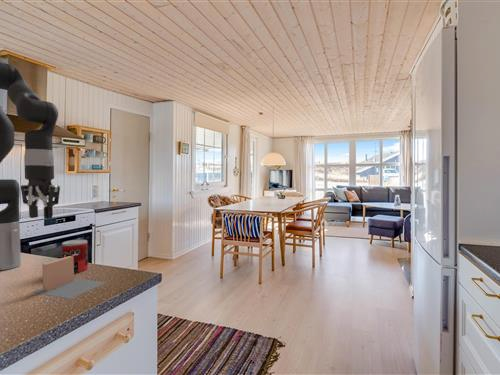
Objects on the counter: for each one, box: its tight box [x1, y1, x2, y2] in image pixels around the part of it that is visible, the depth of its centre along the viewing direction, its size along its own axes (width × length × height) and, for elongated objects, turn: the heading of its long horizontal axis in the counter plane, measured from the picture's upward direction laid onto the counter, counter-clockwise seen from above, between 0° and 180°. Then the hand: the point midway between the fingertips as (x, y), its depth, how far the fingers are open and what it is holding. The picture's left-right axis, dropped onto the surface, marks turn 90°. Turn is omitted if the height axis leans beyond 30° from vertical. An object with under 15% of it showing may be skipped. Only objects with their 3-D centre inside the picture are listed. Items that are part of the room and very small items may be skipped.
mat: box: [31, 277, 106, 300], centre depth 91 cm, size 15×13×1 cm
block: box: [41, 256, 75, 291], centre depth 92 cm, size 2×9×8 cm, turn 162°
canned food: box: [61, 239, 89, 274], centre depth 107 cm, size 8×8×11 cm
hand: (41, 217), depth 93 cm, fingers open, 5 cm apart
